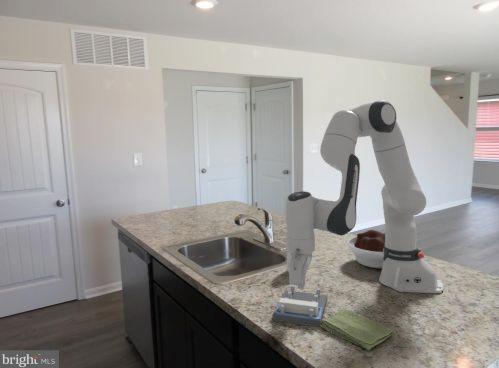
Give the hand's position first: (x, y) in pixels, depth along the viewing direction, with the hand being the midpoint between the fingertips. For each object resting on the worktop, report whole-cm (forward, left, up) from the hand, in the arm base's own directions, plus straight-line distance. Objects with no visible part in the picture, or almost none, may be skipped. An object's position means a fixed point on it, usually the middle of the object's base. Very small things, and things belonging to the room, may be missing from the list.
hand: (301, 287), depth 117 cm
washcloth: (-17, +4, -11) cm, 20 cm away
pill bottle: (+9, -38, -11) cm, 40 cm away
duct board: (+1, -5, -10) cm, 12 cm away
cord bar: (+1, 0, -8) cm, 8 cm away
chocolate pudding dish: (-23, -56, -11) cm, 61 cm away
